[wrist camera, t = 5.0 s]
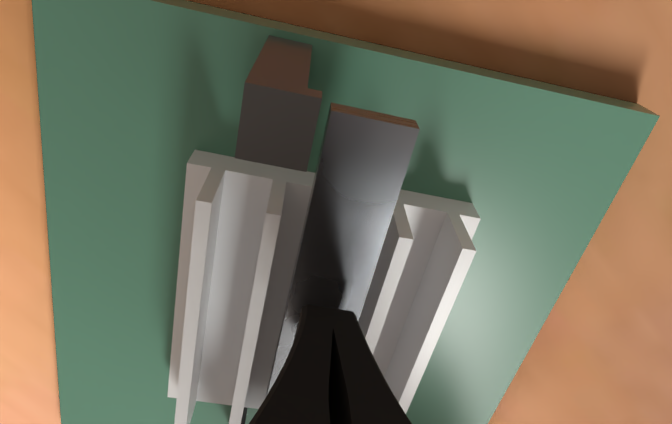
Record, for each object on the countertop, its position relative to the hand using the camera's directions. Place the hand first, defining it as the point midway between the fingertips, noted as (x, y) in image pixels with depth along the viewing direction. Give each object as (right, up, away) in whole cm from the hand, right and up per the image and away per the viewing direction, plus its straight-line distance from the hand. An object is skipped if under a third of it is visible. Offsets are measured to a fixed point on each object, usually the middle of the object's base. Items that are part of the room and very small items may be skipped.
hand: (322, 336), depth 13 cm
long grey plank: (0, -1, +2) cm, 2 cm away
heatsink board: (-1, 0, +7) cm, 7 cm away
